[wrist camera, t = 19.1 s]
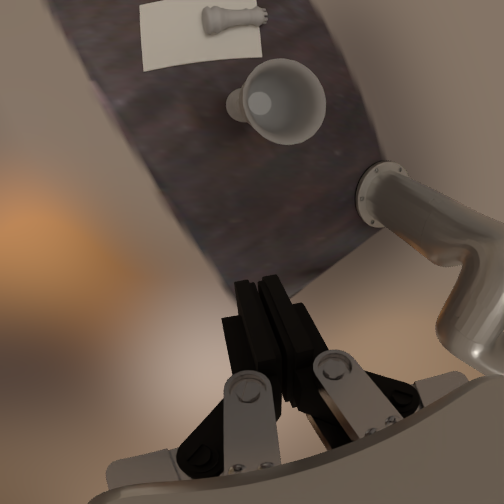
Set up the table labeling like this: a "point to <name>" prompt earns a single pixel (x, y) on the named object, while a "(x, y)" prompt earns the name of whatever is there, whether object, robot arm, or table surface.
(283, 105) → the chalice
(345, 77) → the table surface
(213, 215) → the table surface
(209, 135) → the table surface
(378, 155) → the table surface
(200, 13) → the grey mat
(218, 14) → the rook chess piece
